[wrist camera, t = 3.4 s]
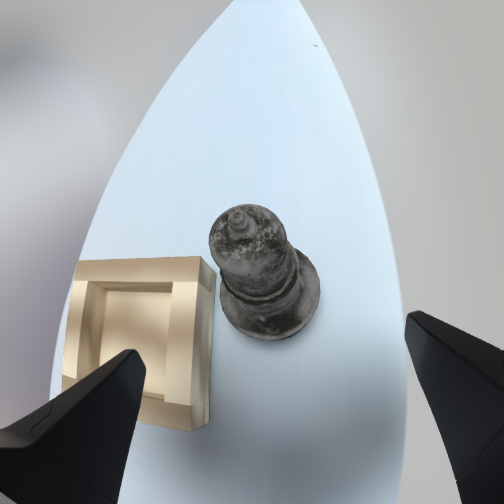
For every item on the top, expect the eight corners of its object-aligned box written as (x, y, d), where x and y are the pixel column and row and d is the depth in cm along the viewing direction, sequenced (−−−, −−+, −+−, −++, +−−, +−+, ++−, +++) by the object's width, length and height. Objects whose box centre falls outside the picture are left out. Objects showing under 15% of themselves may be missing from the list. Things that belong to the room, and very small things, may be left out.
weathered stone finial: (266, 248, 21) (225, 125, 10) (333, 291, 19) (367, 188, 8) (217, 312, 20) (119, 241, 9) (284, 361, 18) (252, 355, 7)
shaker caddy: (208, 422, 17) (189, 432, 13) (89, 395, 19) (61, 394, 15) (216, 273, 21) (200, 255, 18) (102, 274, 23) (78, 260, 20)
